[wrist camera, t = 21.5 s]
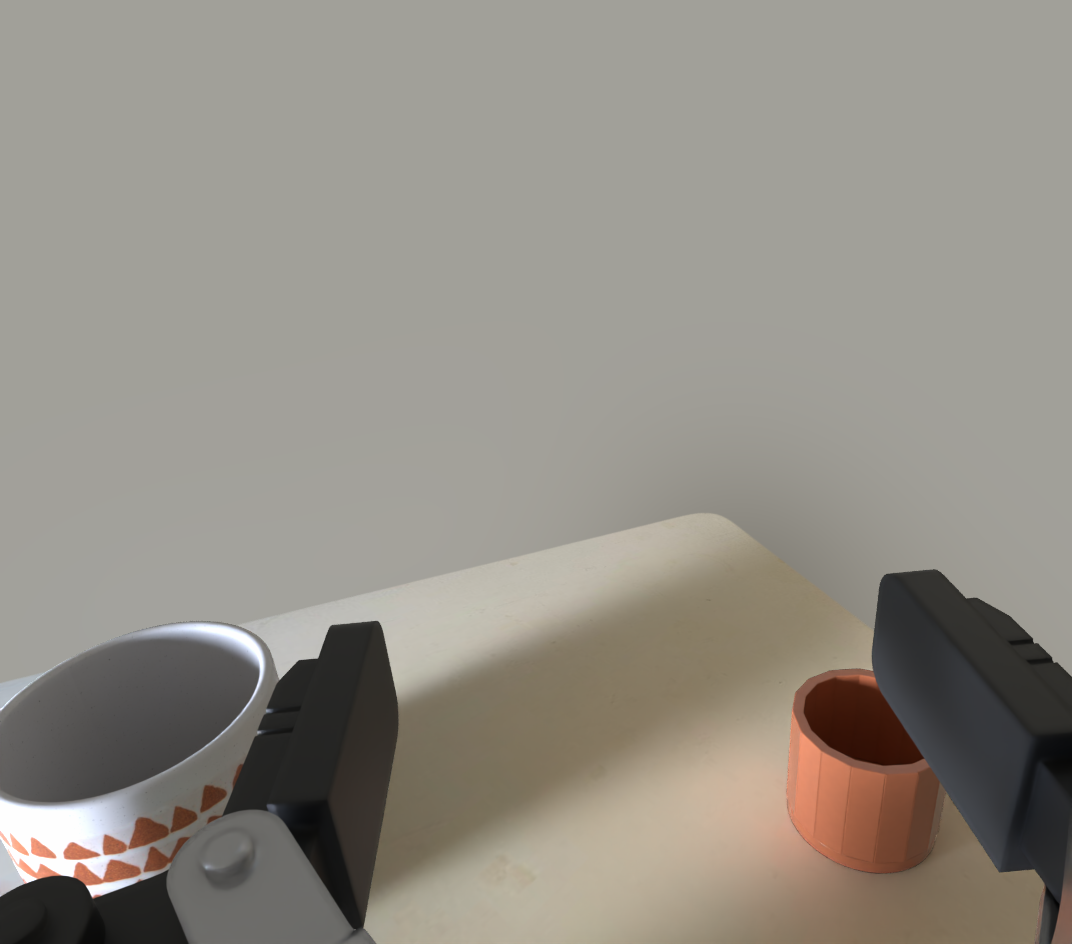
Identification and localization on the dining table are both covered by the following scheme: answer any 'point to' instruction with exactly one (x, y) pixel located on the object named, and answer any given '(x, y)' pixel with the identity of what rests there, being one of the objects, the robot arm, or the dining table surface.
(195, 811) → the planter
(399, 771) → the dining table surface
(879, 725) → the crock
